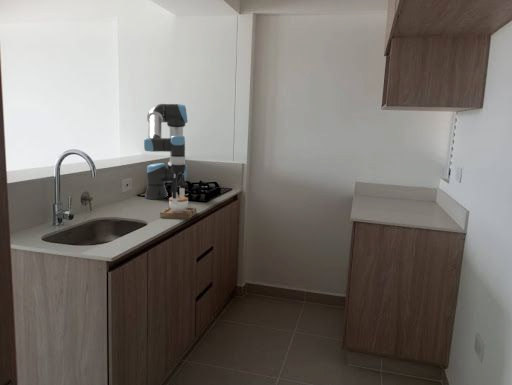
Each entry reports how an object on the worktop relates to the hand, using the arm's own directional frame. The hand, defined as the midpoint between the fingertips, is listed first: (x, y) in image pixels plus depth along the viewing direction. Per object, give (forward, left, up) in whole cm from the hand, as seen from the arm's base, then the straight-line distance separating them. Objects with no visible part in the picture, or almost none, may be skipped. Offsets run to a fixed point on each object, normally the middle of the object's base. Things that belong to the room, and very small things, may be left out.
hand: (178, 201), depth 237 cm
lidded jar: (0, 0, -6) cm, 6 cm away
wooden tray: (0, 0, -8) cm, 8 cm away
